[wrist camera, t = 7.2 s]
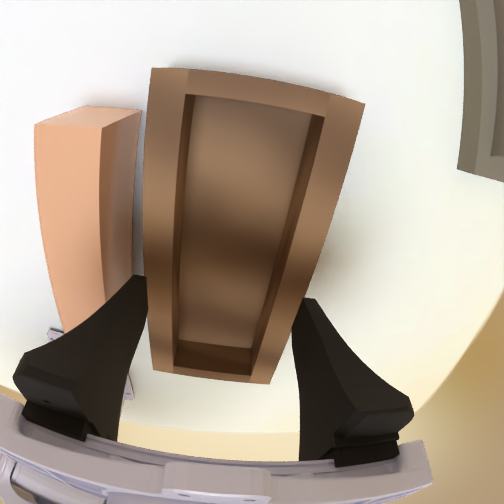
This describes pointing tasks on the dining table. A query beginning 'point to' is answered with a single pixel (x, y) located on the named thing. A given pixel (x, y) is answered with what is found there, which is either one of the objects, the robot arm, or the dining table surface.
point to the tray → (235, 214)
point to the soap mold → (483, 89)
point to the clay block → (86, 204)
